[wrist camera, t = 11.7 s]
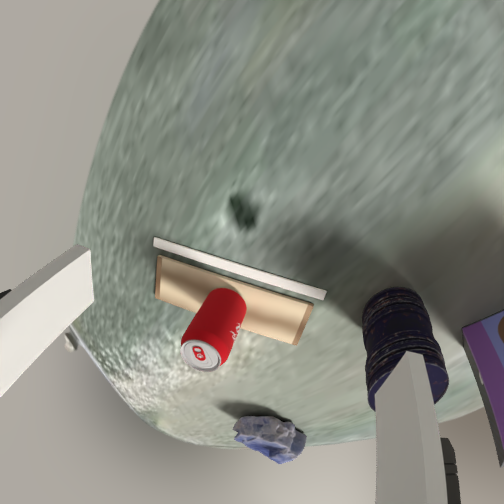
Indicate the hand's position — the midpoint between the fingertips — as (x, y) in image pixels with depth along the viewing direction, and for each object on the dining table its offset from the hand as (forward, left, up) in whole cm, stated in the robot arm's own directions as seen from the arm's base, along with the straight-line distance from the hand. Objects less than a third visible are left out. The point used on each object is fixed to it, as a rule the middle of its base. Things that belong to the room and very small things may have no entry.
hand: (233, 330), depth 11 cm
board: (+21, -5, -29) cm, 36 cm away
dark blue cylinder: (+15, +19, -29) cm, 38 cm away
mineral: (+50, +10, -29) cm, 59 cm away
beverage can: (+21, -5, -28) cm, 36 cm away
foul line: (+15, -5, -29) cm, 33 cm away
